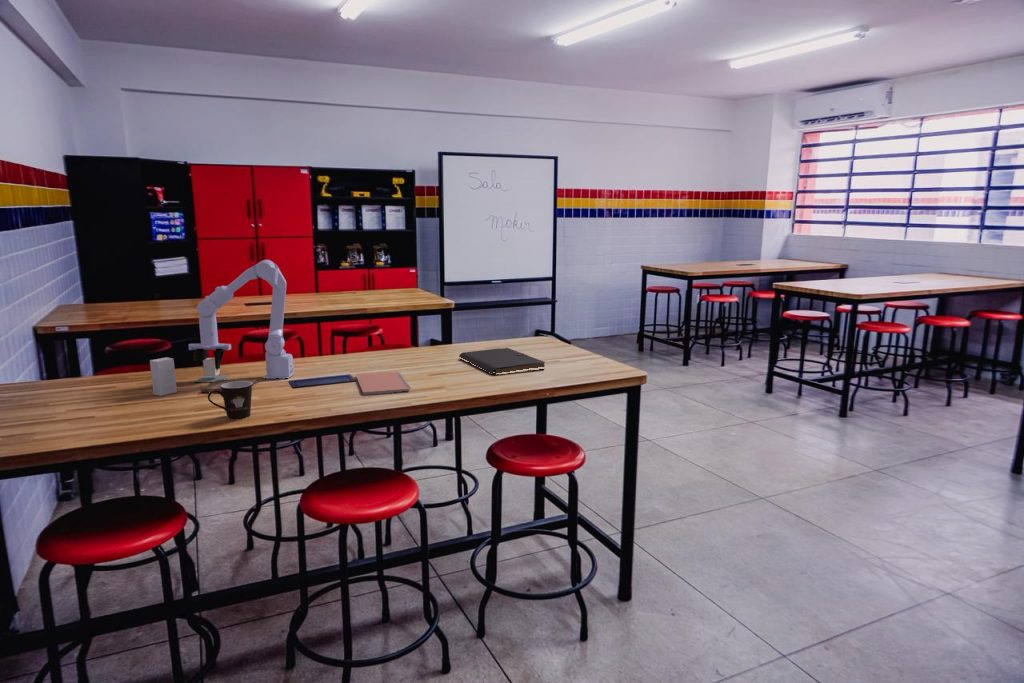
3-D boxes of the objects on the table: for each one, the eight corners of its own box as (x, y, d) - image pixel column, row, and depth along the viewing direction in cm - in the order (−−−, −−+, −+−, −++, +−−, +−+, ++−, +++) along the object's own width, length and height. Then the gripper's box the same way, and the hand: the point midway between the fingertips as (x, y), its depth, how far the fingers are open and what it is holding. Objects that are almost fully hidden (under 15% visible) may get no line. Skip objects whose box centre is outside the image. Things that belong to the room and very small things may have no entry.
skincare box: (170, 390, 216) (167, 356, 214) (177, 392, 214) (174, 358, 212) (152, 394, 211) (149, 360, 209) (159, 396, 209) (156, 361, 207)
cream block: (219, 373, 233) (218, 358, 232) (215, 376, 229) (214, 360, 228) (208, 373, 233) (207, 358, 232) (204, 376, 229) (202, 360, 228)
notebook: (412, 393, 219) (412, 387, 219) (363, 397, 214) (363, 391, 213) (399, 375, 244) (399, 370, 244) (355, 378, 239) (355, 373, 239)
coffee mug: (258, 412, 193) (256, 381, 191) (247, 420, 185) (245, 388, 183) (220, 412, 193) (218, 380, 191) (208, 420, 184) (205, 388, 183)
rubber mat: (229, 376, 236) (229, 375, 236) (219, 382, 228) (219, 381, 228) (205, 376, 236) (205, 375, 236) (194, 382, 227) (194, 381, 227)
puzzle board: (256, 383, 227) (256, 379, 227) (243, 393, 215) (242, 388, 214) (217, 383, 227) (217, 379, 226) (201, 393, 214) (201, 388, 214)
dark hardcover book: (545, 361, 254) (492, 367, 243) (545, 370, 255) (493, 377, 244) (507, 346, 283) (459, 352, 272) (507, 355, 284) (459, 361, 273)
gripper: (183, 334, 224) (186, 371, 227) (224, 334, 225) (227, 371, 227) (192, 331, 231) (195, 366, 234) (232, 331, 232) (234, 366, 234)
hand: (211, 368), depth 231 cm, fingers closed on cream block, 4 cm apart
